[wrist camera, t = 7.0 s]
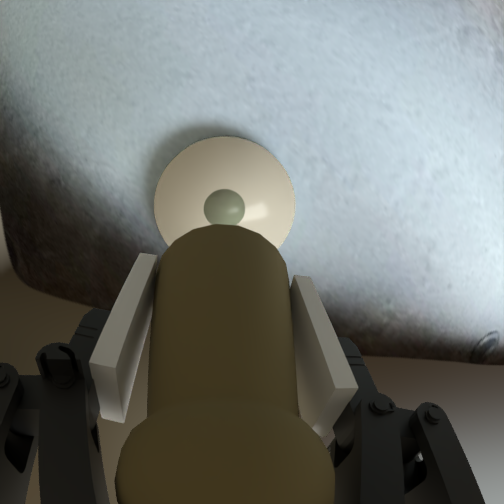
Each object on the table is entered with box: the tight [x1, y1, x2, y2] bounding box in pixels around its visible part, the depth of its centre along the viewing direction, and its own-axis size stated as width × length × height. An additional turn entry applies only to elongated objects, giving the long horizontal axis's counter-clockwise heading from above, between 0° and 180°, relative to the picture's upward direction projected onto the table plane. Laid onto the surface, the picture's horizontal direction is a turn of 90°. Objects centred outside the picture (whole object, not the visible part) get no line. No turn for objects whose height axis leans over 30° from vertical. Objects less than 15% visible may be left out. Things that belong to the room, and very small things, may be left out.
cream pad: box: [154, 136, 295, 249], centre depth 25 cm, size 11×11×2 cm
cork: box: [115, 224, 335, 504], centre depth 9 cm, size 6×6×11 cm
